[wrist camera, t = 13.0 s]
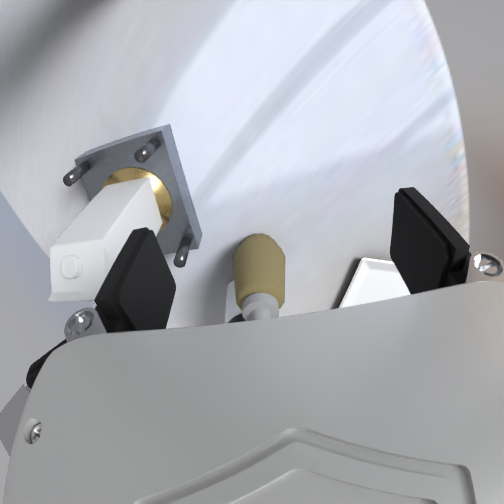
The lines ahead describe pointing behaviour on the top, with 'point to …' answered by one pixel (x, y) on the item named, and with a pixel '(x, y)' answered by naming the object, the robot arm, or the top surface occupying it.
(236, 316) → the jar
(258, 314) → the squeeze bottle
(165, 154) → the grey pegged base
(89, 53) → the top surface
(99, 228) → the milk carton
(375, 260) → the plate
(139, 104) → the top surface
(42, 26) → the top surface
